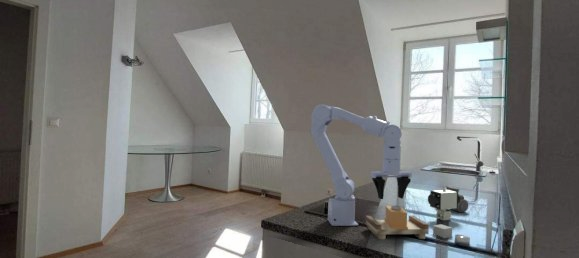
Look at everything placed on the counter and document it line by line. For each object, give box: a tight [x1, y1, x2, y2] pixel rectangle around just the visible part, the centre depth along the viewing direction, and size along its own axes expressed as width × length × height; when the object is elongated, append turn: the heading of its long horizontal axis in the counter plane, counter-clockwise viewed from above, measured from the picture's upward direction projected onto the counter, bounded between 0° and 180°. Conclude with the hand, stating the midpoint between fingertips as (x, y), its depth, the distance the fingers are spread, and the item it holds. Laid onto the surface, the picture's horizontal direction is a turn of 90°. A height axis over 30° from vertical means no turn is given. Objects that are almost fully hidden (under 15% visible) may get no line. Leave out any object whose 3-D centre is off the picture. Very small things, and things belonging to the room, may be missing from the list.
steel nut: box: [454, 234, 471, 246], centre depth 95 cm, size 4×4×2 cm
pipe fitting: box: [446, 185, 469, 214], centre depth 136 cm, size 12×8×10 cm
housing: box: [384, 205, 408, 230], centre depth 103 cm, size 5×10×6 cm, turn 174°
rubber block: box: [432, 223, 453, 239], centre depth 102 cm, size 4×4×3 cm
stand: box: [365, 215, 430, 240], centre depth 103 cm, size 17×10×4 cm, turn 95°
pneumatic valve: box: [427, 187, 460, 222], centre depth 121 cm, size 6×12×12 cm, turn 108°
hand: (390, 198), depth 109 cm, fingers open, 7 cm apart
